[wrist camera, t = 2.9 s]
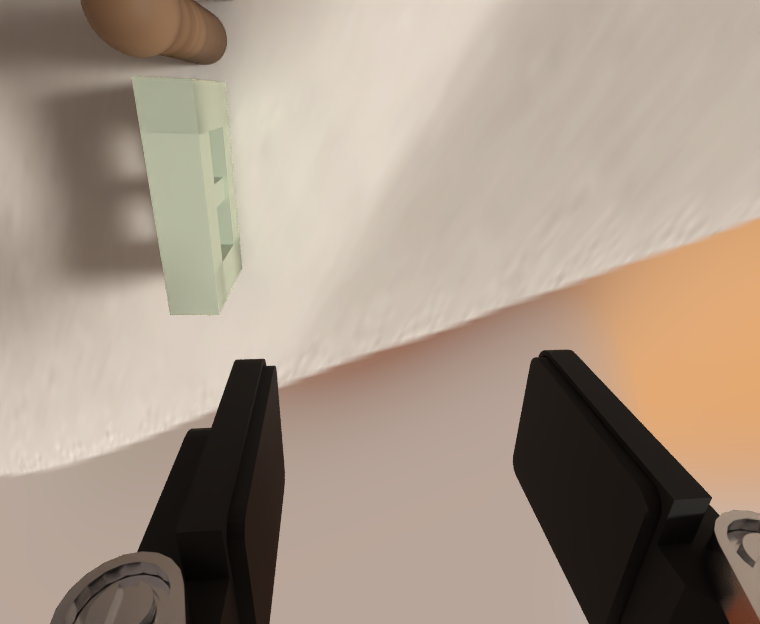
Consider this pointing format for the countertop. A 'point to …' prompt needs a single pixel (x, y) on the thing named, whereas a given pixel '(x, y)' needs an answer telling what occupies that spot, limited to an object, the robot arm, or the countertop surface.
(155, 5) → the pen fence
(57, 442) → the countertop surface
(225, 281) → the pale green flat block
